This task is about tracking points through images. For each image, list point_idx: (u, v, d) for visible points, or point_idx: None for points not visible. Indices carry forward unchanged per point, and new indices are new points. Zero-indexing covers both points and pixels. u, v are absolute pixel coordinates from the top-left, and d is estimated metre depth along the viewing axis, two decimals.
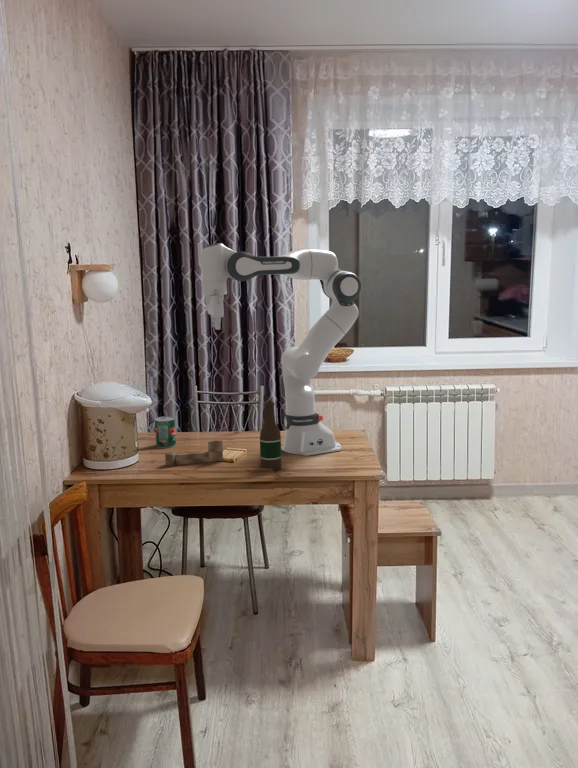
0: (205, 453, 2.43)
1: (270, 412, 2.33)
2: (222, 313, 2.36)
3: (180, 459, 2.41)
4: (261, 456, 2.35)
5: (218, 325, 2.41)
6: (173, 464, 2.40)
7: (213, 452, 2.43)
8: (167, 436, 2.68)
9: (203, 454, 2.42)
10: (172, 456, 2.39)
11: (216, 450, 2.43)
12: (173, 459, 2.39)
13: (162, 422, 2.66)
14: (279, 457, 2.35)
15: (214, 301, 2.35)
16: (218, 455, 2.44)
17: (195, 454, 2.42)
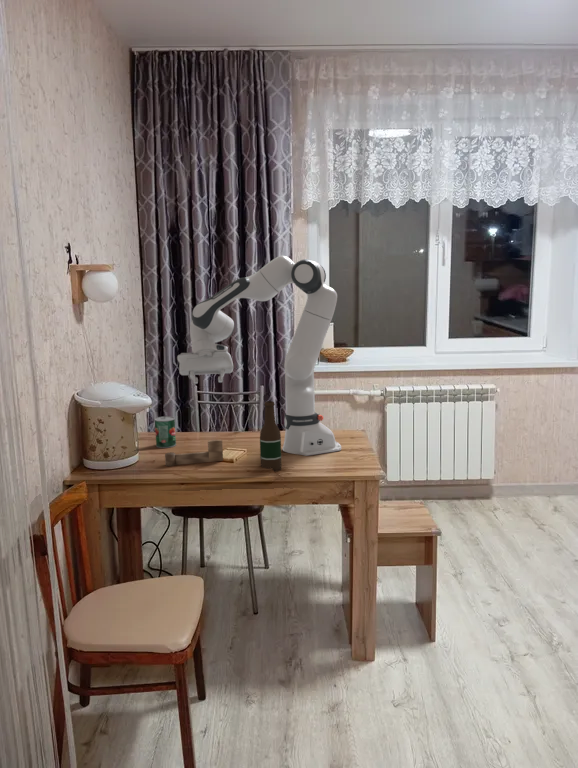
0: (205, 453, 2.43)
1: (270, 412, 2.33)
2: (179, 368, 2.52)
3: (180, 459, 2.41)
4: (261, 456, 2.35)
5: (193, 379, 2.52)
6: (173, 464, 2.40)
7: (213, 452, 2.43)
8: (167, 436, 2.68)
9: (203, 454, 2.42)
10: (172, 456, 2.39)
11: (216, 450, 2.43)
12: (173, 459, 2.39)
13: (162, 422, 2.66)
14: (279, 457, 2.35)
15: None
16: (218, 455, 2.44)
17: (195, 454, 2.42)
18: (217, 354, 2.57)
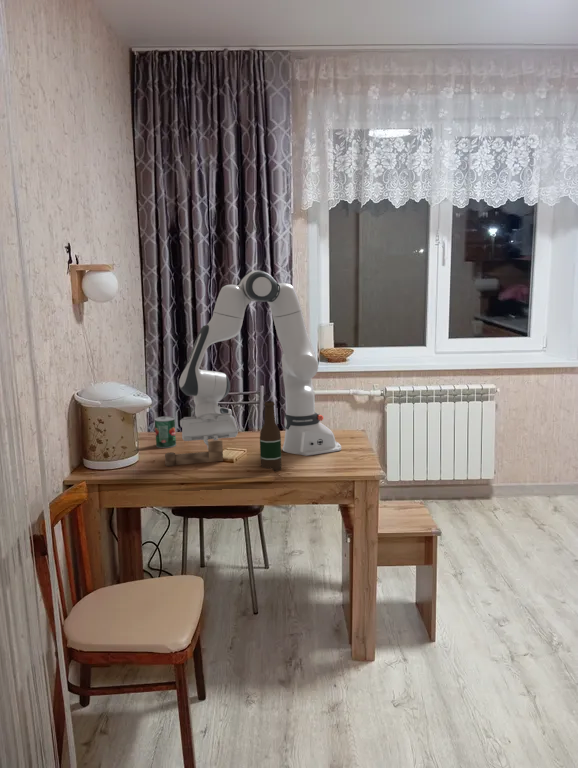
0: (205, 453, 2.42)
1: (270, 412, 2.33)
2: (182, 434, 2.45)
3: (180, 459, 2.41)
4: (261, 456, 2.35)
5: (207, 444, 2.45)
6: (173, 464, 2.40)
7: (213, 452, 2.43)
8: (167, 436, 2.68)
9: (203, 454, 2.42)
10: (172, 456, 2.39)
11: (216, 450, 2.43)
12: (173, 459, 2.39)
13: (162, 422, 2.66)
14: (279, 457, 2.35)
15: None
16: (218, 455, 2.43)
17: (195, 454, 2.42)
18: (221, 418, 2.49)
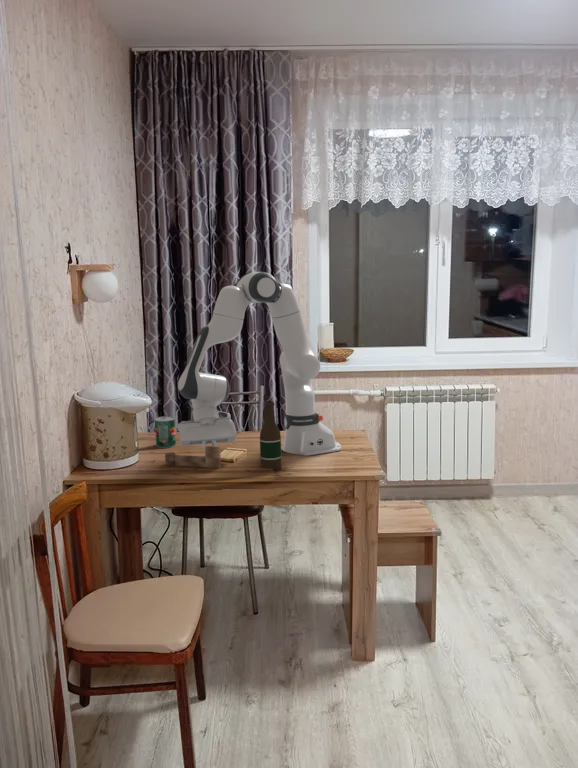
0: (202, 458, 2.37)
1: (270, 412, 2.33)
2: None
3: (178, 460, 2.39)
4: (261, 456, 2.35)
5: None
6: (171, 464, 2.39)
7: (209, 458, 2.36)
8: (167, 436, 2.68)
9: (200, 458, 2.37)
10: (170, 456, 2.39)
11: (212, 456, 2.36)
12: (171, 459, 2.39)
13: (162, 422, 2.66)
14: (279, 457, 2.35)
15: None
16: (215, 461, 2.36)
17: (193, 457, 2.38)
18: (219, 422, 2.43)
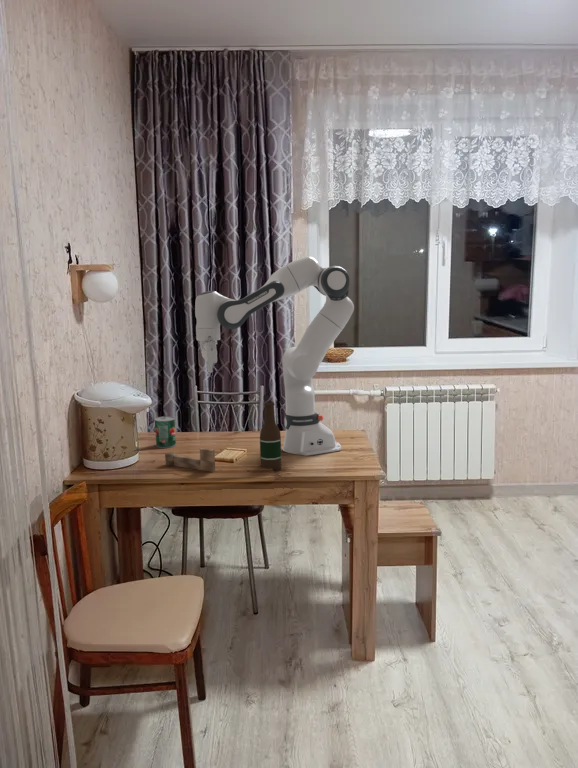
0: (198, 460, 2.34)
1: (270, 412, 2.33)
2: (215, 359, 2.44)
3: (177, 461, 2.38)
4: (261, 456, 2.35)
5: (210, 368, 2.53)
6: (169, 464, 2.39)
7: (204, 461, 2.33)
8: (167, 436, 2.68)
9: (196, 461, 2.34)
10: (169, 456, 2.39)
11: (206, 459, 2.32)
12: (170, 460, 2.39)
13: (162, 422, 2.66)
14: (279, 457, 2.35)
15: (208, 348, 2.43)
16: (208, 465, 2.32)
17: (189, 459, 2.36)
18: None
